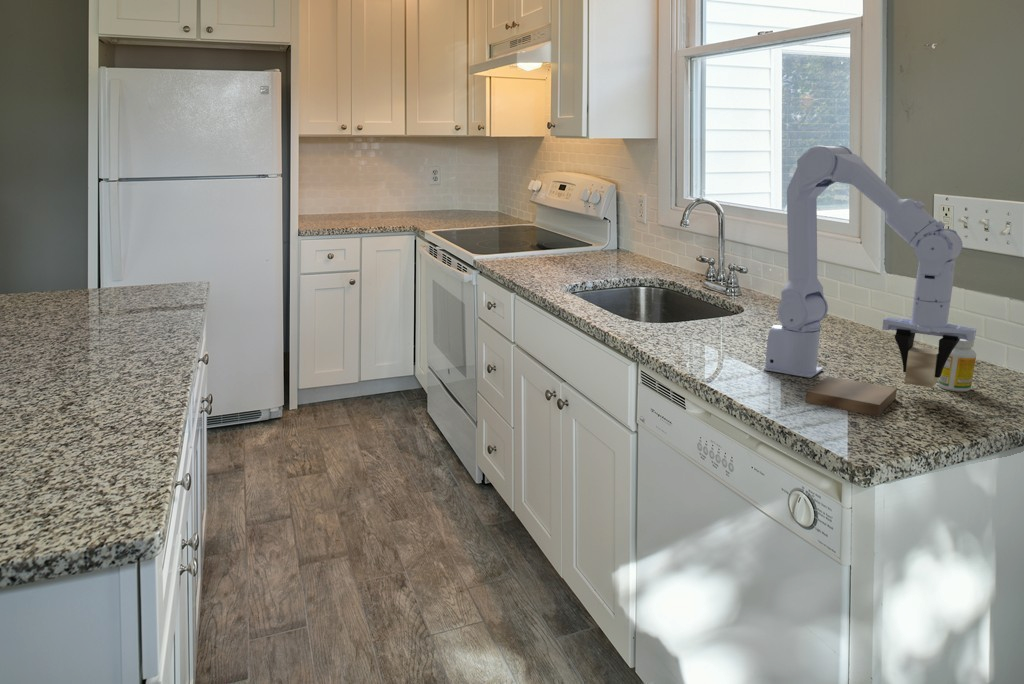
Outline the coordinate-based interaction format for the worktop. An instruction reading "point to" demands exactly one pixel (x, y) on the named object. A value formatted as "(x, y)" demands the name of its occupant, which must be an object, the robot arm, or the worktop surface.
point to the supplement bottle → (959, 367)
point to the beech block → (921, 366)
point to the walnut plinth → (851, 395)
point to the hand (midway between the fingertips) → (921, 373)
